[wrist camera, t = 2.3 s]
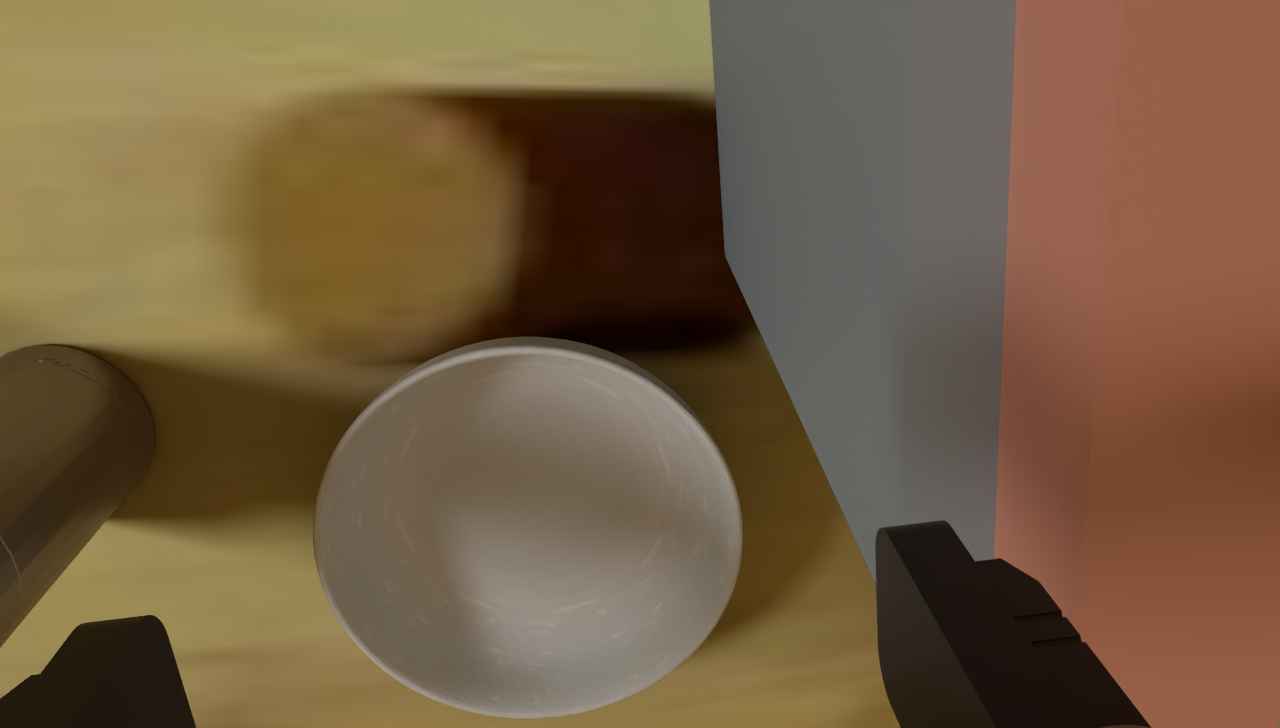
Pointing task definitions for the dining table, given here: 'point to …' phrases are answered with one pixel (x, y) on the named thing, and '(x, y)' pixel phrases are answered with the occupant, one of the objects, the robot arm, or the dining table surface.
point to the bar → (1148, 345)
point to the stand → (876, 238)
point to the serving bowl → (528, 529)
